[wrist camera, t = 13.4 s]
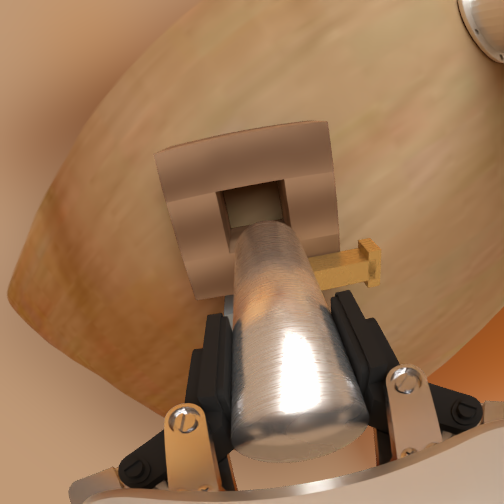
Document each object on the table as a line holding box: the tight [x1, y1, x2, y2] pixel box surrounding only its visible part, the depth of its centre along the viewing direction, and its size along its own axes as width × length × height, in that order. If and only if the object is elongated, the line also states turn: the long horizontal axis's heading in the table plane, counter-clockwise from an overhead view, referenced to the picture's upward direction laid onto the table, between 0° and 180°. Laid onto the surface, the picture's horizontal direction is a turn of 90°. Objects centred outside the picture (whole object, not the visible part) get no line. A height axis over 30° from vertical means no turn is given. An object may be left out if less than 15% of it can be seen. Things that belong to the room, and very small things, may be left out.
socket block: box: [154, 121, 340, 300], centre depth 27 cm, size 14×14×6 cm
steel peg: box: [231, 221, 369, 463], centre depth 12 cm, size 4×4×12 cm
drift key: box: [308, 238, 381, 291], centre depth 25 cm, size 4×10×2 cm, turn 100°
